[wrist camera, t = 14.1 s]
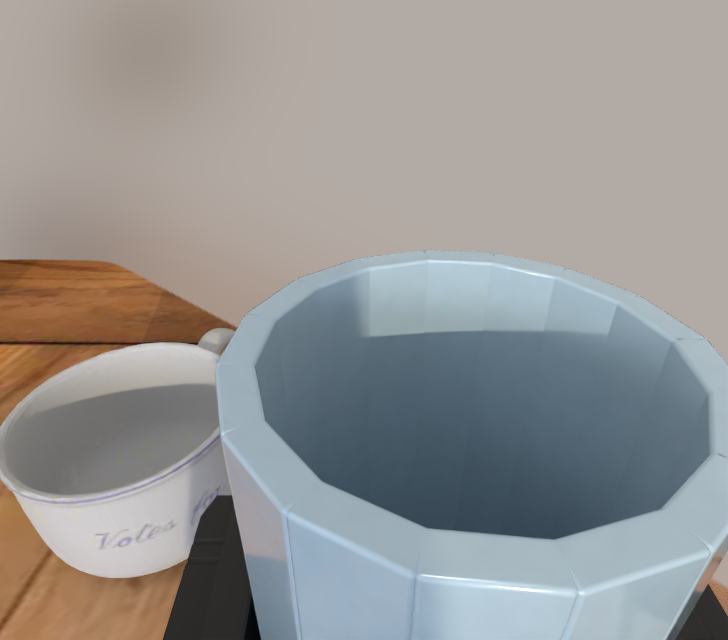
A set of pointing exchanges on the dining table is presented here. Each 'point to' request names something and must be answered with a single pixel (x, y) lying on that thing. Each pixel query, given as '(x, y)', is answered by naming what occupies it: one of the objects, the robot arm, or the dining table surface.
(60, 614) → the dining table surface
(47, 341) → the dining table surface
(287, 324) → the tumbler
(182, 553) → the teacup
